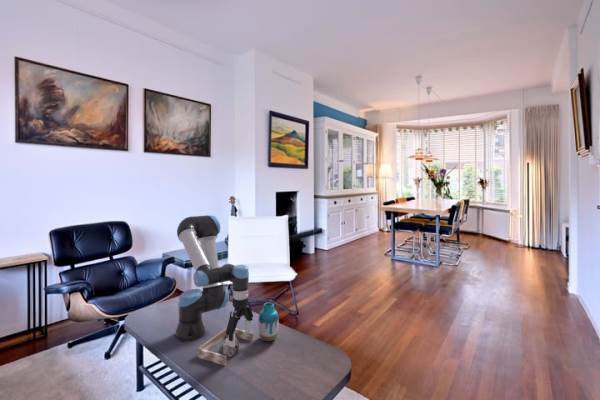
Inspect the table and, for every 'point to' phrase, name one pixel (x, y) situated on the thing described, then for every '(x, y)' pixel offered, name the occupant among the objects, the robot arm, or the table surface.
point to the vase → (268, 322)
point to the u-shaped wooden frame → (212, 356)
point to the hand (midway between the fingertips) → (240, 339)
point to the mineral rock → (228, 349)
